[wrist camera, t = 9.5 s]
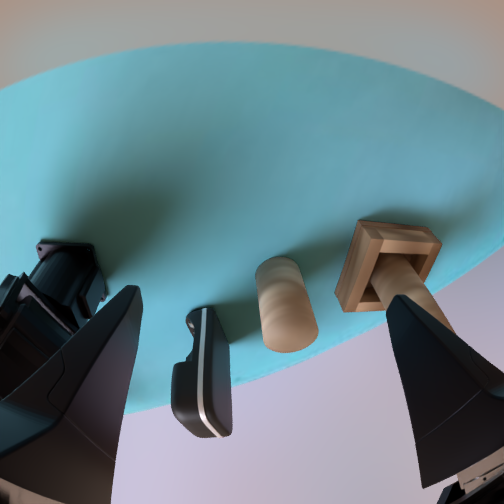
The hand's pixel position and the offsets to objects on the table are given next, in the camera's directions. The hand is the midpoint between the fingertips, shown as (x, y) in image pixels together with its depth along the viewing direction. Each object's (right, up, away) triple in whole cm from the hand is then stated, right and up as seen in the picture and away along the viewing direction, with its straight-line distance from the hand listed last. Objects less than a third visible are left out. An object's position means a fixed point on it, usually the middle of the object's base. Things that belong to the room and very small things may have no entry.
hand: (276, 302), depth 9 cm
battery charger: (-6, -6, +20) cm, 22 cm away
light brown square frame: (+12, +1, +16) cm, 20 cm away
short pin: (+2, 0, +16) cm, 16 cm away
